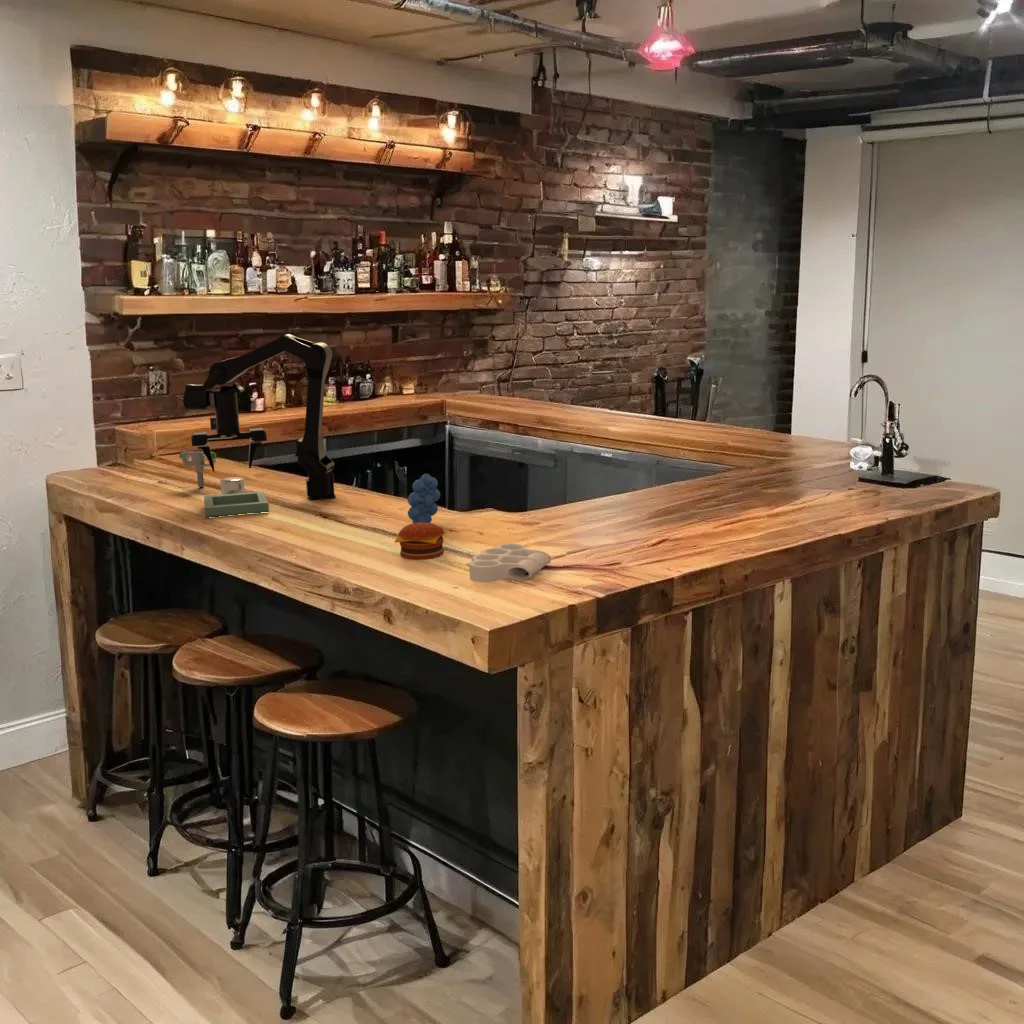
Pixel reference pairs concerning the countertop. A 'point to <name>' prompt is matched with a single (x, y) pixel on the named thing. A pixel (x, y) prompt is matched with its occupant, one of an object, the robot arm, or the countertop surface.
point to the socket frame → (235, 504)
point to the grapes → (423, 499)
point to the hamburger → (421, 541)
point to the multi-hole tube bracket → (507, 563)
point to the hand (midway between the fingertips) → (231, 469)
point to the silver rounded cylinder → (232, 485)
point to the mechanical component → (197, 462)
